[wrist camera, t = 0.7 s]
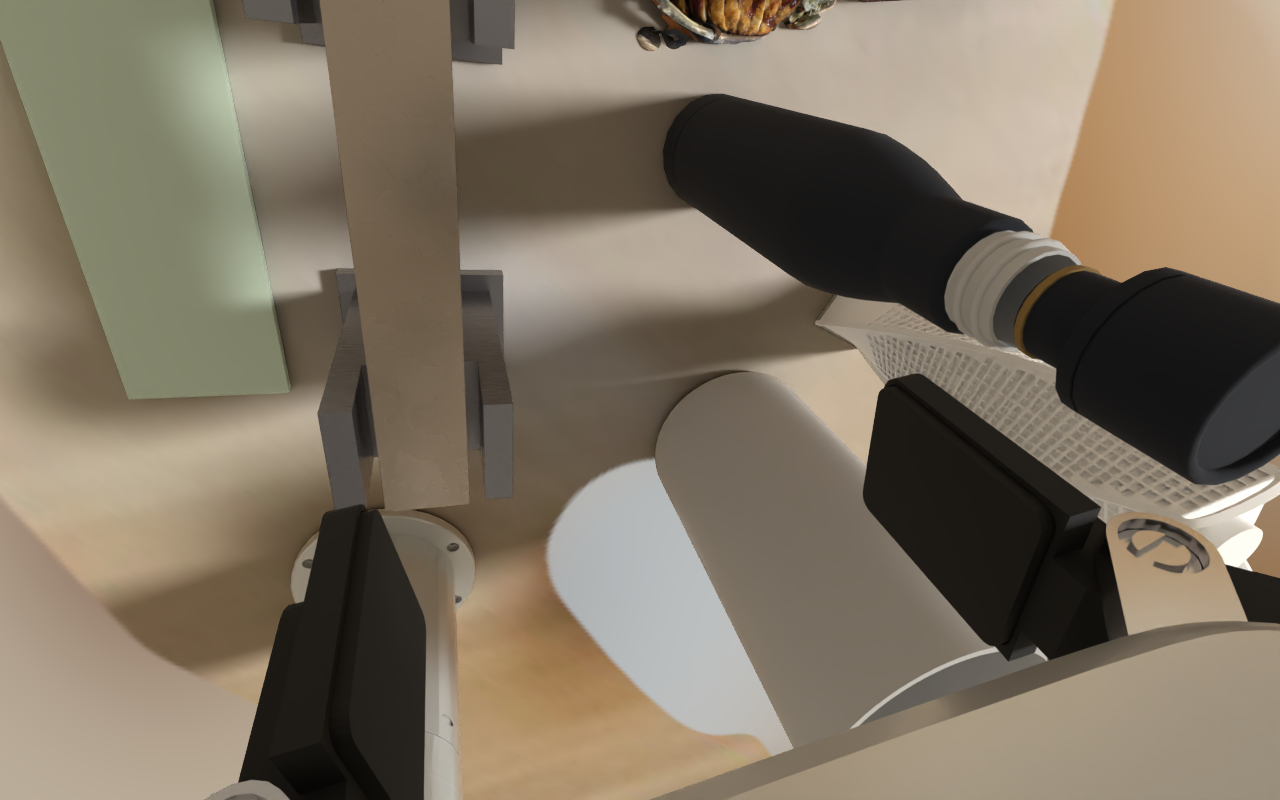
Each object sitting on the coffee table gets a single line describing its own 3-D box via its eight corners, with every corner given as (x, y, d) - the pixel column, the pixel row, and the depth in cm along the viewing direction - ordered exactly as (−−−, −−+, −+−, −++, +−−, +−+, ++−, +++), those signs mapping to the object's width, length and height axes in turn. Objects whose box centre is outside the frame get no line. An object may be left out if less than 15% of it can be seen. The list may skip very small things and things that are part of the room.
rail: (466, 458, 31) (469, 504, 28) (390, 464, 30) (385, 511, 27) (439, -163, 19) (441, -197, 16) (312, -190, 18) (289, -230, 15)
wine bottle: (640, 161, 36) (1087, 461, 11) (713, 67, 34) (1411, 178, 10) (712, 227, 39) (1177, 568, 15) (781, 144, 38) (1429, 370, 13)
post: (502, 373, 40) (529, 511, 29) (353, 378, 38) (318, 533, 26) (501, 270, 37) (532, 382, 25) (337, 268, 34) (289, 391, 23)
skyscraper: (861, 369, 49) (1230, 669, 27) (790, 332, 46) (1149, 645, 23) (929, 279, 47) (1406, 526, 24) (859, 231, 43) (1349, 471, 20)
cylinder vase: (771, 337, 45) (1053, 600, 25) (815, 448, 52) (1061, 723, 32) (624, 423, 45) (782, 754, 25) (688, 522, 52) (852, 842, 32)
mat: (291, 388, 37) (289, 392, 36) (132, 394, 35) (128, 399, 34) (175, -188, 24) (169, -193, 24) (-90, -240, 22) (-102, -246, 21)
